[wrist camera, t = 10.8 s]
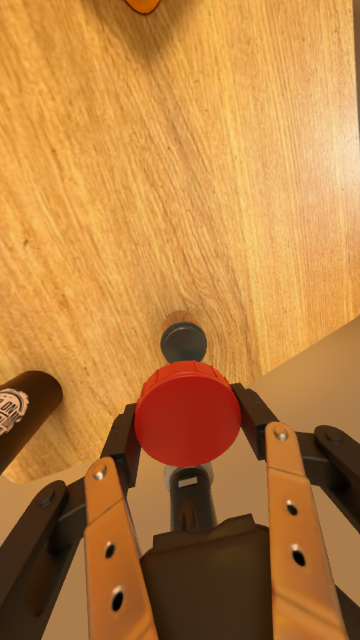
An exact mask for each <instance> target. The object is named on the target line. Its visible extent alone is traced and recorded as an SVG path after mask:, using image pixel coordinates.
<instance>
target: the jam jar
mask: <svg viewBox="0 0 360 640" xmlns="http://www.w3.org/2000/svg"><path fill="white" fill-rule="evenodd" d="M160 346H161V351H162V353H163V355H164V356H165V358H166V359H167V361H168V362H169V363H170V364H171V363H174V362H175V361H176V362H179V361H193V360H195V361H197V362H201V361H202V359H203V358H204V356H205V353H206V348H207V340H206V336H205V333H204V332H203V330H202V329H201V327H200V326H199V325H198V323H197V322H196V320H195V319H194V318H193V316H192V315H191V314H189V313H187V312H185V311H175V312H172V313H170V314H169V315H168V316H167V317H166V318H165V320H164V322H163V325H162V334H161V342H160Z"/></svg>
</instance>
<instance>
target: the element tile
mask: <svg viewBox="0 0 360 640" xmlns="http://www.w3.org/2000/svg"><path fill="white" fill-rule="evenodd" d="M126 1H127V2H128V3H129V4H130V5H131V6H132V8H134V9H135V10H137V11H139V12H141V13H148V12H150V11H151V10H153V9H154V8H155V6H156V5H157V3H158V2H159V0H126Z"/></svg>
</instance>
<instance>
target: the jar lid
mask: <svg viewBox="0 0 360 640" xmlns="http://www.w3.org/2000/svg"><path fill="white" fill-rule="evenodd" d="M240 427H241V410H240V405H239V402H238V400H237V398H236V396H235V395H234V393H233V391H232V387H231V386H230V384H229V382H228V381H227V379H226V377H223V375H222V374H221V373H220V372H219V371H217V370H216V369H214V368H213V366H212V365H211V366H209V365H207V364H204V363H201V362H197V361H195V360H193V361H179V362H176V361H175V362H174V363H171V364H169V365H166V366H164V367H162V368H160V369H159V370H158V369H157V370H156V372H155V373H154V374H153V375H152V376H150V378H149V379H148V380H147V381H146V383H144V384H143V388H142V391H141V394H140V397H139V399H138V401H137V405H136V409H135V420H134V429H135V433H136V436H137V440H138V442H139V444H140V446H141V447H142V448H143V450H144V451H145V452H146V453H147V454H148V455H149V456H151V457H152V458H154V459H155V460H157V461H159V462H161V463H164V464H167V465H171V466H177V467H191V466H197V465H201V464H204V463H207V462H209V461H211V460H213V459H215V458H217V457H218V456H220V455H221V454H222V453H224V452H225V451H226V450H227V449H228V448H229V447H230V446H231V445H232V444H233V442H234V441H235V439H236V437H237V435H238V433H239V430H240Z"/></svg>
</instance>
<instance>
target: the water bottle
mask: <svg viewBox="0 0 360 640" xmlns="http://www.w3.org/2000/svg"><path fill="white" fill-rule="evenodd" d="M61 400H62V388H61V386H60V384H59V383H58V381H57V380H56V379H55V378H54V377H52V376H51V375H49V374H47V373H45V372H41V371H27V372H24V373H22V374H20V375H18V376H17V377H15V378H13V379H12V380H10V381H8V382H7V383H5V384H3V385H1V386H0V475H1V474H2V473H3V472H4V470H5V469H6V468H7V467H8V465H9V464H10V463H11V462H12V461H13V459H14V458H15V457H16V456H17V455H18V453H19V452H20V451H21V450H22V448H23V447H24V446H25V445H26V444H27V442H28V441H29V440H30V439H31V438H32V436H33V435H34V434H35V433H36V431H37V430H38V429H39V428H40V427H41V425H42V424H43V423H44V422H45V421H46V419H47V418H48V417H49V416H50V415H51V413H52V412H53V411H54V410H55V408H56V407H57V406H58V405H59V403H60V402H61Z"/></svg>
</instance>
